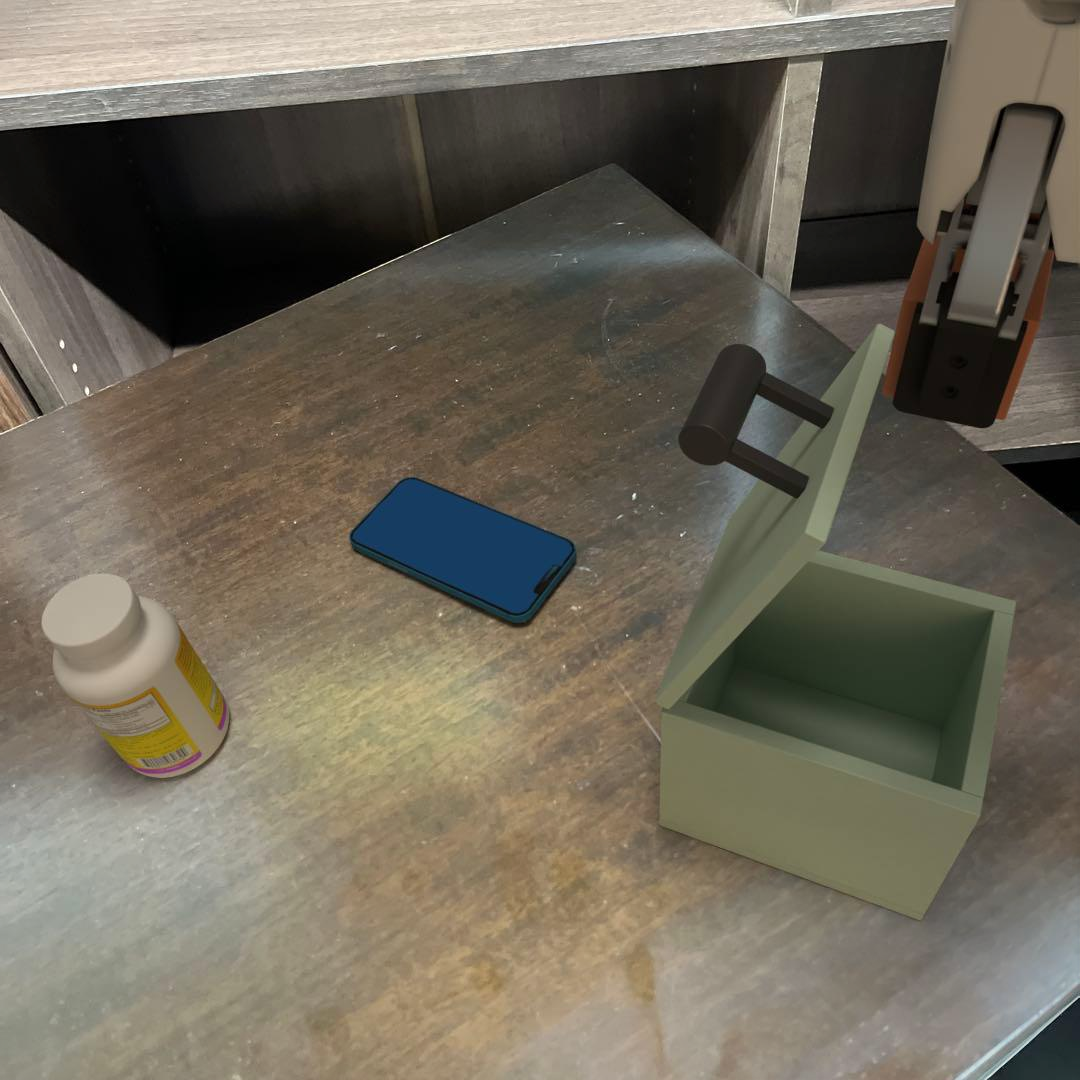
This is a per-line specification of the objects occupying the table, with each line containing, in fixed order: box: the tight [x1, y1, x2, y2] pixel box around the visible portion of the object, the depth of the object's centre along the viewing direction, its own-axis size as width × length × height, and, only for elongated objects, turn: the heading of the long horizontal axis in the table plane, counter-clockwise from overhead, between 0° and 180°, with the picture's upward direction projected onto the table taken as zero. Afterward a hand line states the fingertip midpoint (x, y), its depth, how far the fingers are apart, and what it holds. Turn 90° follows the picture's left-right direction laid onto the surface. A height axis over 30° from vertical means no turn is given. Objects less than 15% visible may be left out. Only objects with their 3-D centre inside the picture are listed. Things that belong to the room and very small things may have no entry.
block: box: [881, 236, 1055, 421], centre depth 33 cm, size 4×4×4 cm
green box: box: [658, 549, 1017, 921], centre depth 51 cm, size 14×12×12 cm
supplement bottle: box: [41, 572, 230, 779], centre depth 56 cm, size 7×7×13 cm
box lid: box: [653, 322, 896, 709], centre depth 42 cm, size 15×12×6 cm
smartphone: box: [348, 476, 578, 624], centre depth 68 cm, size 7×1×15 cm
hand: (955, 366), depth 34 cm, fingers closed on block, 4 cm apart
